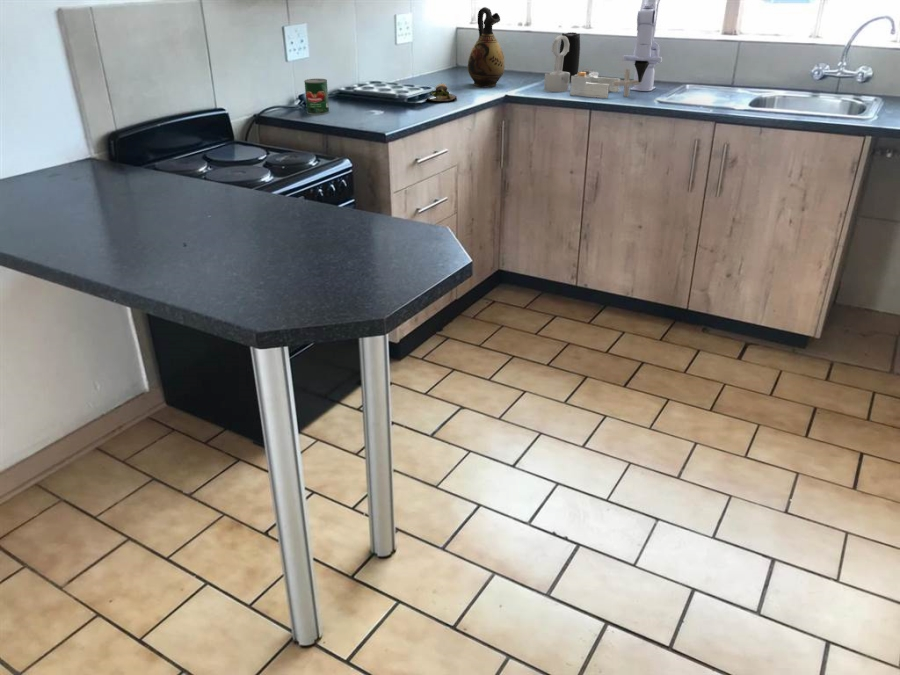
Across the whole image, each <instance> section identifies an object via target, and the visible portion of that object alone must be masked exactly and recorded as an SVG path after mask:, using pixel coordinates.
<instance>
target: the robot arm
mask: <svg viewBox="0 0 900 675" xmlns="http://www.w3.org/2000/svg"><path fill="white" fill-rule="evenodd" d="M660 1H661V0H642V2H641V6H640V10H638V11H637V15H636V16H637V17H636V40H635V45H634V50H633V53H632V54H633V55H630V54H629V55H627V54H624V55H623V56H622V62H632V64H633V65H634V67H635V69H634V70H635V71H634V77H633V78H634V79H633V80H638V82H640V85H633V87H631V88H629V91H630V90H631V91H641V92H651V91H653V90H654V89H656V86H654V82H655V74H656V72H655V67H656V66H658V64H661V63H662V62H663V57H662V56H660V48H661V47H660V45H659V43H657V42H656V41H655V34H656V26H657V19H658V12H659V7H660V6H659V5H660Z"/></svg>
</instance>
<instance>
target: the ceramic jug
mask: <svg viewBox="0 0 900 675" xmlns="http://www.w3.org/2000/svg"><path fill="white" fill-rule="evenodd" d="M484 14H485V18H484ZM499 22H501V16H500V15H499V13H497V12H495V13H493V14H492V11H491V9H490V8H489V7H486V6H484V7H482V8H480V9H479V10H478V12H477V28H478V30H477V31H478V39H477V41H476V42H475V44H474V45H473V47H472V48H471V51H470V54H469V57H468V61H467V72H468V73H469V76H470V78H471V79H472V81H473V85H474V86H476V87H478V88H493V87H496V85H497V83H498V82H499V81H500V79H501V78H502V76H503V74H504V72H505V67H506V66H505V56H504V54H503V50H502V47H501V46H500V44H499V41H498V39H497V38H496V36H495V34H494V33H493V32H494V31H493V25H495V24H498V23H499Z"/></svg>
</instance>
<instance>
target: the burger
mask: <svg viewBox="0 0 900 675" xmlns="http://www.w3.org/2000/svg"><path fill="white" fill-rule="evenodd" d="M447 90H448V87H447V85H446V84H443V83H440V84H438V85H437V86H436V87H435V91H434V90H433V89H432V90H431V91H430V92H429V94H432V95H433V96H434V97H436V99H430V98H427V100H429V101H433V102H449V101H453V100H454V101H455V102H457V100H458V98H457V97H458V96H457V95H456V94H451V93H450V92H449V91H447Z"/></svg>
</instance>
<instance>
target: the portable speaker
mask: <svg viewBox="0 0 900 675" xmlns="http://www.w3.org/2000/svg"><path fill="white" fill-rule="evenodd" d="M561 36H566V37H567V38H568V40H569V43H570V45H569V52H567V54H566V55H565V56H564V59H563V68H562V71H563V72H569V73H570V81H571V76H573V75H576V74H578V72H579V66H580V53H581V52H580V51H581V34H580V33H577V32H567V33H563V32H562V33H561ZM563 49H564V41H563V39H561V40H560V45H559V54H560V53H561V52H562V51H563Z"/></svg>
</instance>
